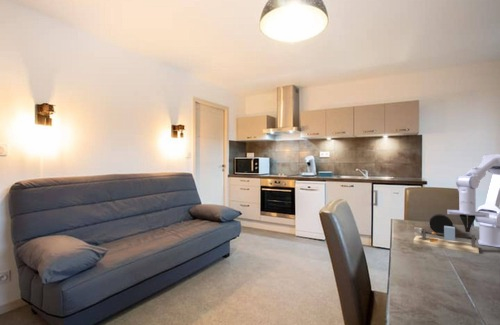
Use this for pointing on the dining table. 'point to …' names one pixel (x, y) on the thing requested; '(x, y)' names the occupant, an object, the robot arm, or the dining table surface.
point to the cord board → (445, 241)
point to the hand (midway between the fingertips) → (467, 231)
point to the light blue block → (449, 233)
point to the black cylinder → (439, 223)
